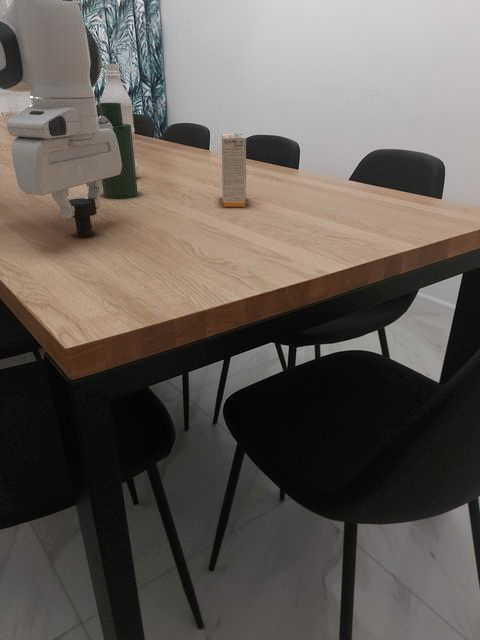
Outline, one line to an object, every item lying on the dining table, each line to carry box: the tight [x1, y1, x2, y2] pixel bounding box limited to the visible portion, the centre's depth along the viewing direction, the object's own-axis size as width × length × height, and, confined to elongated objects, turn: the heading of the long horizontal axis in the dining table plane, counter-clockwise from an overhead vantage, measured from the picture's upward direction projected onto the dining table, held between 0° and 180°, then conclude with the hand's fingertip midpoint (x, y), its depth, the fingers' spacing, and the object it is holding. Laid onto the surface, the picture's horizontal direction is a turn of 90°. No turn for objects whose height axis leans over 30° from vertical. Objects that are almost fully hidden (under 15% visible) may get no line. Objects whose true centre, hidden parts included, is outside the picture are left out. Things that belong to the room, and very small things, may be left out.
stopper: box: [68, 197, 98, 238], centre depth 81 cm, size 5×5×6 cm
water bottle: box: [100, 63, 139, 178], centre depth 120 cm, size 7×7×25 cm
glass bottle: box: [99, 102, 139, 200], centre depth 105 cm, size 7×7×18 cm
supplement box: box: [221, 133, 247, 208], centre depth 102 cm, size 8×5×13 cm, turn 5°
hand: (81, 213), depth 81 cm, fingers closed on stopper, 4 cm apart
